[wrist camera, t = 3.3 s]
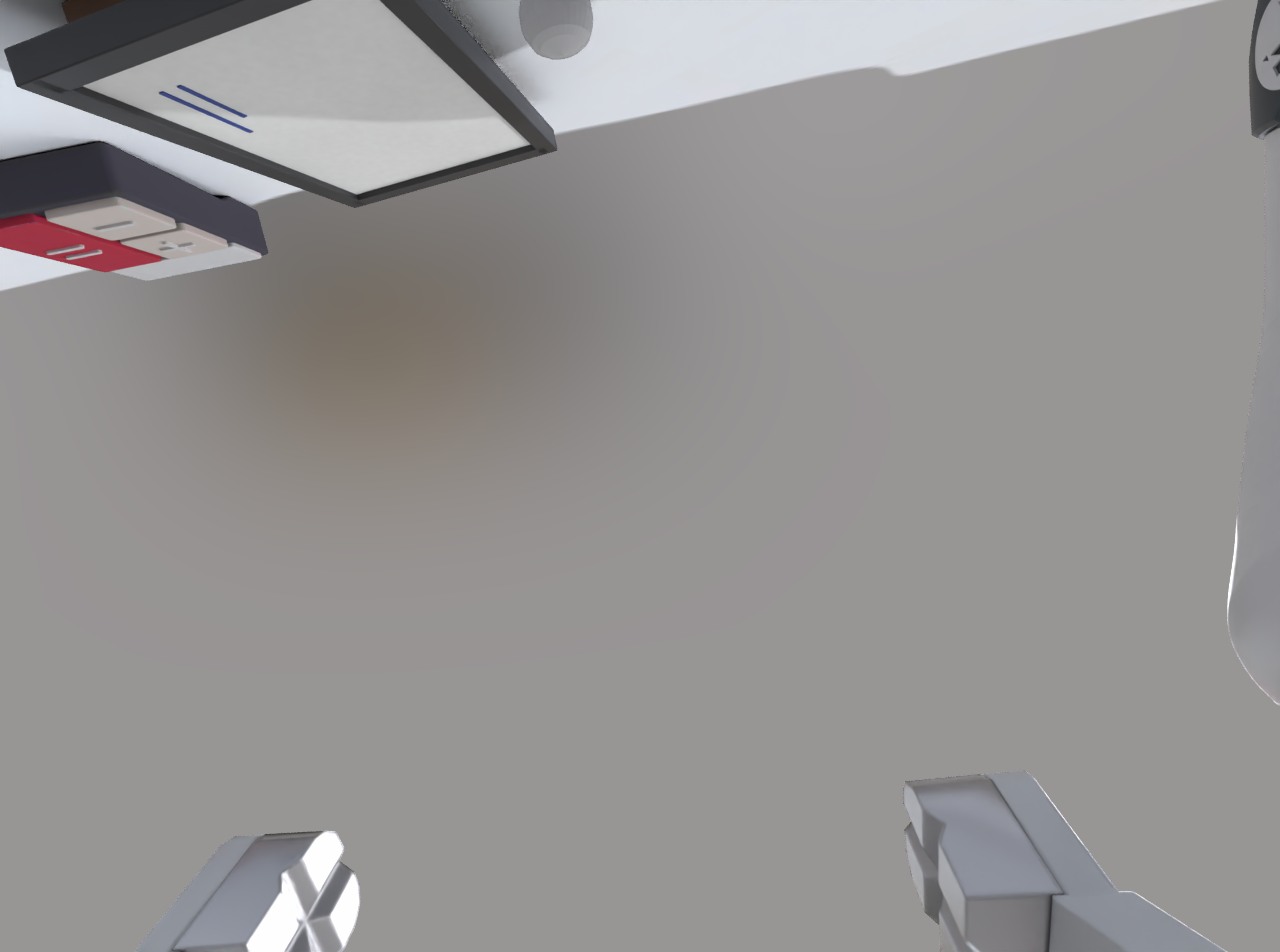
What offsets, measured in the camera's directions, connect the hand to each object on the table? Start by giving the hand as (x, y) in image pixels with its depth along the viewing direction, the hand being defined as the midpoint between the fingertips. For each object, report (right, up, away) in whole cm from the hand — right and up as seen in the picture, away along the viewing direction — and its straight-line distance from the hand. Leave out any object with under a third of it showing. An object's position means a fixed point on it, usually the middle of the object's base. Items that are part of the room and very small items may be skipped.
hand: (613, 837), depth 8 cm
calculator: (-37, +25, +34) cm, 56 cm away
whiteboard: (-16, +27, +23) cm, 39 cm away
